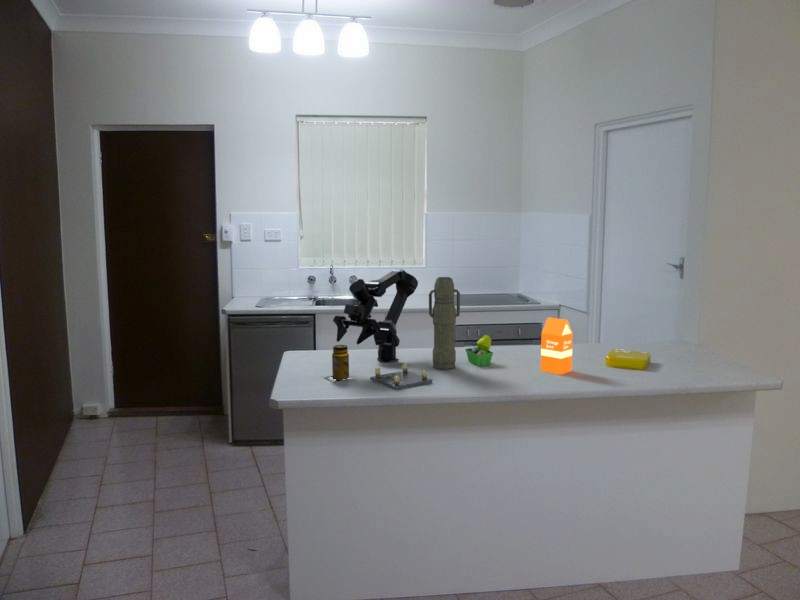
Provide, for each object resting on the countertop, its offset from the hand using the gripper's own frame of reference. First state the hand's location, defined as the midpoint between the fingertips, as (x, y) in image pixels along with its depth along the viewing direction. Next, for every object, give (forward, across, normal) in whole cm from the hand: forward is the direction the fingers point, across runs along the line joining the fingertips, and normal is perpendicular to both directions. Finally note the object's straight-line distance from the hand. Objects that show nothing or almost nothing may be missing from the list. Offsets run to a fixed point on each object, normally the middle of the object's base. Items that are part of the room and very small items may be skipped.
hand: (347, 342), depth 249 cm
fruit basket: (-21, +34, +38) cm, 55 cm away
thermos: (-11, +25, +29) cm, 40 cm away
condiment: (+13, 0, +5) cm, 14 cm away
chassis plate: (+7, +22, +10) cm, 25 cm away
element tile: (-40, +84, +58) cm, 110 cm away
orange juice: (-24, +64, +41) cm, 80 cm away
